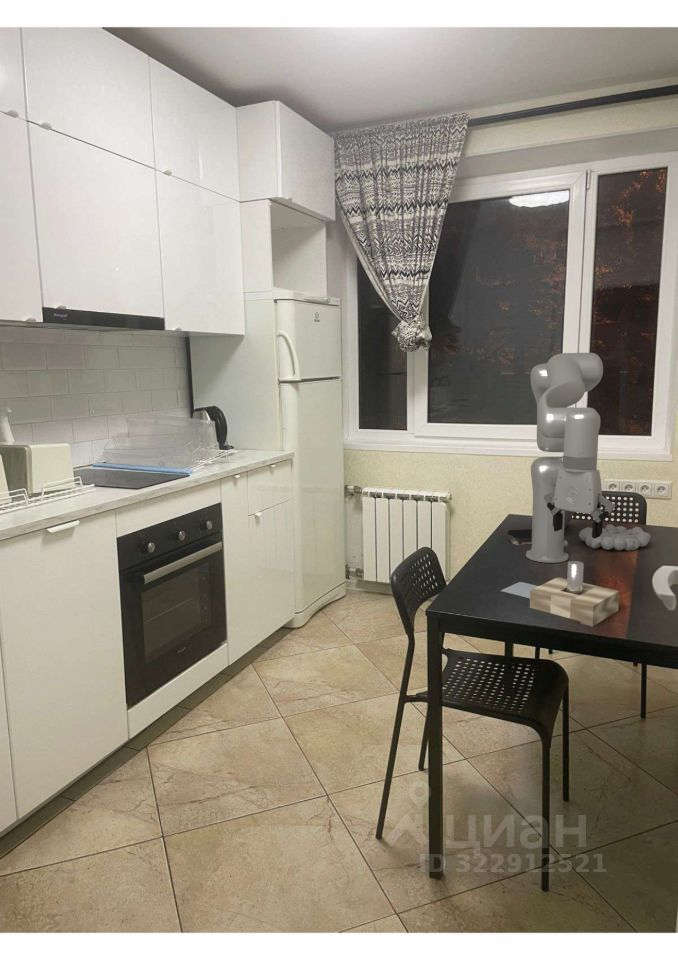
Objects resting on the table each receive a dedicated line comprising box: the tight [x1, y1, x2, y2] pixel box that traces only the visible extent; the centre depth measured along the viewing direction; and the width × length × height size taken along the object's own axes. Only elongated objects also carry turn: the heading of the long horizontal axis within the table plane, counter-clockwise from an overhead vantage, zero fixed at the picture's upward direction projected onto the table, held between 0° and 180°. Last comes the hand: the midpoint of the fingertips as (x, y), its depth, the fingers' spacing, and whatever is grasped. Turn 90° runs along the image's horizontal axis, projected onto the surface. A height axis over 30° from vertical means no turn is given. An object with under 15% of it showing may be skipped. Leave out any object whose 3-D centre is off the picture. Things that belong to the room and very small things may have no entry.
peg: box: [566, 560, 585, 595], centre depth 164 cm, size 4×4×12 cm
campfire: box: [578, 524, 651, 552], centre depth 222 cm, size 22×21×6 cm
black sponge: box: [506, 528, 532, 546], centre depth 228 cm, size 16×8×4 cm, turn 94°
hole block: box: [529, 576, 620, 627], centre depth 164 cm, size 14×16×5 cm
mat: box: [500, 581, 539, 599], centre depth 178 cm, size 10×10×1 cm
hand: (576, 533), depth 162 cm, fingers open, 9 cm apart
